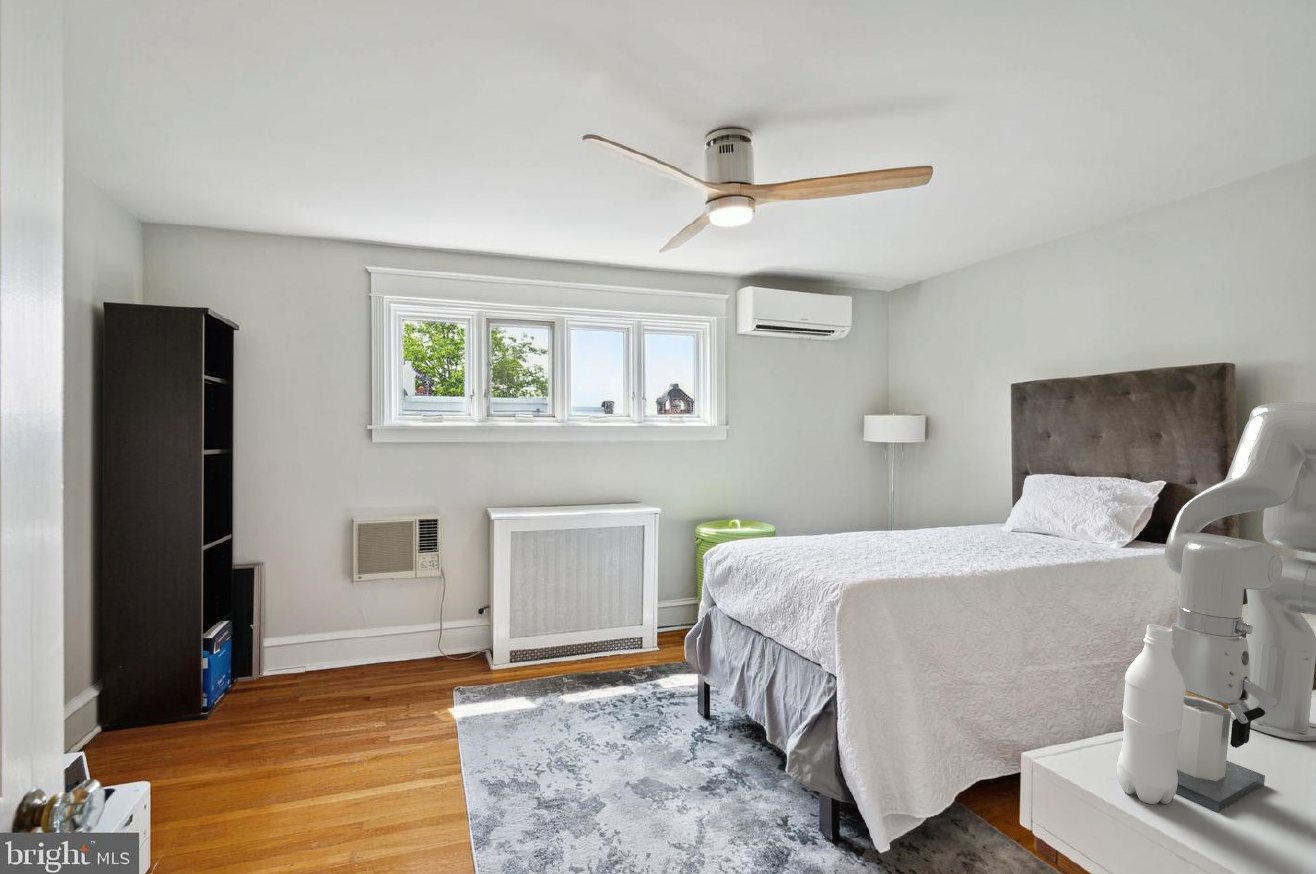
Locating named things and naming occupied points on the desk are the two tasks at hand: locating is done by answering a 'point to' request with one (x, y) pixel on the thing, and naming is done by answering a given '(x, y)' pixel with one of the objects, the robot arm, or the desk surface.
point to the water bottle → (1152, 720)
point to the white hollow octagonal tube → (1203, 739)
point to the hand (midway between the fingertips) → (1198, 730)
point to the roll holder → (1220, 786)
